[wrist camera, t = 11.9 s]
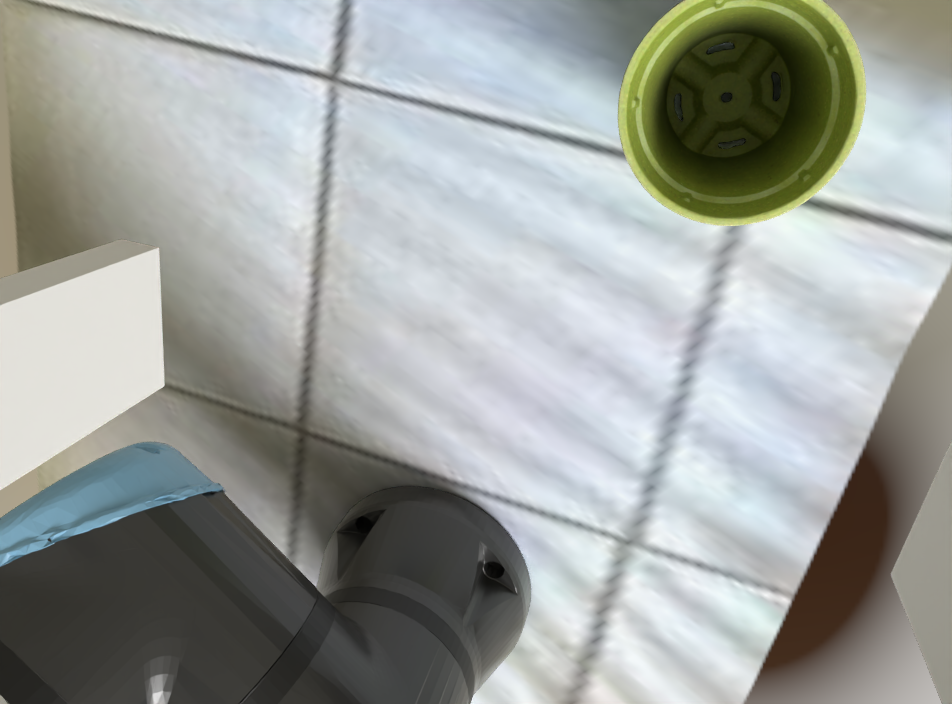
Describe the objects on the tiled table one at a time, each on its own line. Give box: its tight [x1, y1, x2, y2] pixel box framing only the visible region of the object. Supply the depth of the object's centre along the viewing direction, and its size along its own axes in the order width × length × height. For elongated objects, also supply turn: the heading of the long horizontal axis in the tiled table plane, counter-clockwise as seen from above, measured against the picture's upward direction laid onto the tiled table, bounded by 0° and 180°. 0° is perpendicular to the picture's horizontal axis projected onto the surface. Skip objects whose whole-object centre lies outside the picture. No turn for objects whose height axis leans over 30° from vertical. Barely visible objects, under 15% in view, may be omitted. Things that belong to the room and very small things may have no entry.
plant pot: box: [618, 0, 866, 226], centre depth 33 cm, size 9×9×9 cm
